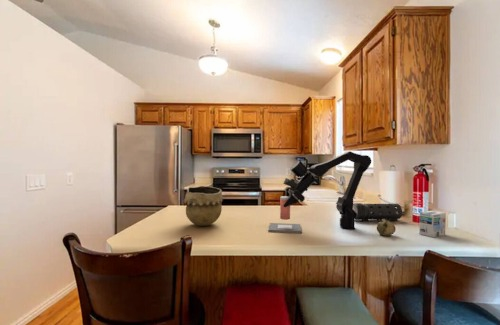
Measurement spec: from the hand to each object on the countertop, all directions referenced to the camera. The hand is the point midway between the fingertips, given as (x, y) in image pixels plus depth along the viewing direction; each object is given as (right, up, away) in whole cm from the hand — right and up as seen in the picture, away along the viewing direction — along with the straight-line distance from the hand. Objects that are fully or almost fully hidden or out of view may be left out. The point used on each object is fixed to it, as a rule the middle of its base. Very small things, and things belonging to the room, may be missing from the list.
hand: (282, 205), depth 135 cm
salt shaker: (+1, -7, 0) cm, 7 cm away
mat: (+1, -12, 0) cm, 12 cm away
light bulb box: (+71, -13, -7) cm, 73 cm away
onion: (+48, -13, -9) cm, 50 cm away
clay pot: (-41, -11, +5) cm, 43 cm away
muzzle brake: (+57, -12, +21) cm, 62 cm away
